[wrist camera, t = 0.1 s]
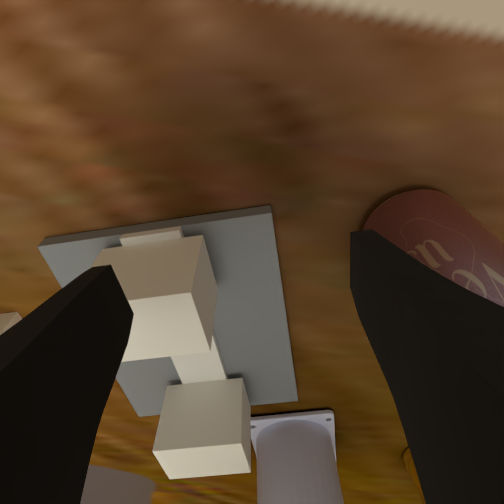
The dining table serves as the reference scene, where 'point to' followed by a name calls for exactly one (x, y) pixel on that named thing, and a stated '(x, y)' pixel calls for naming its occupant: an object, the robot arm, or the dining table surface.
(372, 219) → the beverage can
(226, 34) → the dining table surface
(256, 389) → the board
